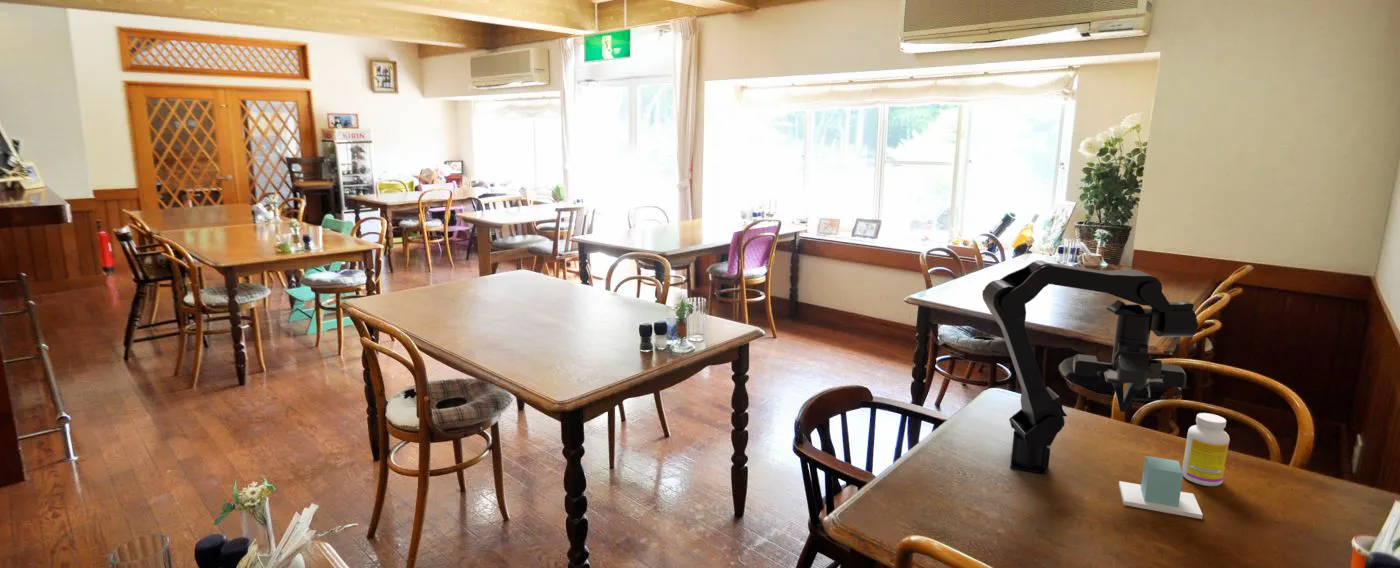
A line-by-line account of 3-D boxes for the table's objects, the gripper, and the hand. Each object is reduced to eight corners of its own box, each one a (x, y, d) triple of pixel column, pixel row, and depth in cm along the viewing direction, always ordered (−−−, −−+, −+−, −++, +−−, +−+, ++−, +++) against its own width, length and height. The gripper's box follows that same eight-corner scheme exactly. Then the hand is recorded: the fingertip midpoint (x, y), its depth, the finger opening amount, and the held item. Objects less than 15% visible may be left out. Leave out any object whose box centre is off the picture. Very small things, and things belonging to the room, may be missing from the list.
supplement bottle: (1228, 489, 136) (1240, 426, 133) (1190, 485, 138) (1200, 423, 135) (1212, 472, 143) (1222, 412, 140) (1175, 469, 144) (1184, 409, 141)
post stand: (1123, 504, 131) (1128, 472, 130) (1118, 484, 138) (1122, 454, 137) (1202, 519, 126) (1207, 485, 125) (1192, 497, 133) (1197, 466, 132)
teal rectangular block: (1144, 501, 131) (1149, 467, 129) (1140, 488, 135) (1145, 455, 134) (1178, 507, 129) (1183, 473, 127) (1173, 493, 133) (1178, 461, 132)
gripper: (1080, 341, 135) (1071, 419, 139) (1198, 354, 128) (1185, 435, 132) (1077, 326, 145) (1068, 398, 149) (1186, 337, 138) (1174, 413, 142)
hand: (1121, 411), depth 143 cm, fingers closed
